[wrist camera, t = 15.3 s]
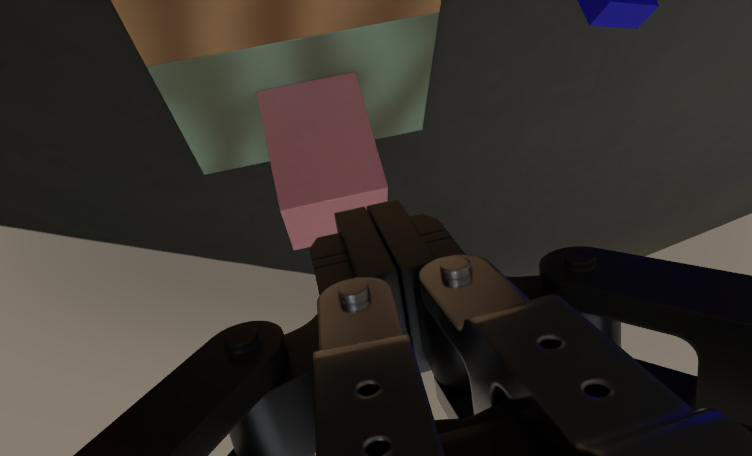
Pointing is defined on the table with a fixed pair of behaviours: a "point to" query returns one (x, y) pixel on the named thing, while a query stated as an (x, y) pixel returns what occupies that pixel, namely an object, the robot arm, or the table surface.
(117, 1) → the multicoloured piece
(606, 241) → the table surface
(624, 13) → the blue curved block
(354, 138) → the pink block
